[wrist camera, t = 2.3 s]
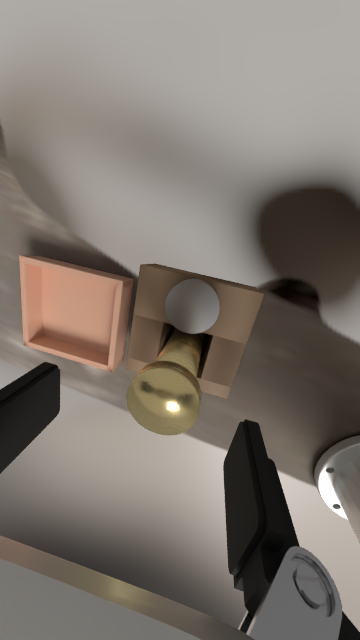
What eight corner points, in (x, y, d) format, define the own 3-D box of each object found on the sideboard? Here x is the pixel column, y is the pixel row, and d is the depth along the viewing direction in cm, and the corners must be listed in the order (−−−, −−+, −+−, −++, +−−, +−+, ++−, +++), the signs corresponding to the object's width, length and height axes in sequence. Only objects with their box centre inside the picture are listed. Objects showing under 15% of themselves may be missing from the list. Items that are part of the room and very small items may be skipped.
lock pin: (213, 322, 21) (208, 384, 10) (203, 357, 22) (189, 444, 12) (174, 312, 21) (131, 362, 11) (166, 347, 22) (122, 421, 12)
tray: (133, 278, 21) (123, 281, 18) (122, 361, 24) (112, 372, 22) (40, 256, 22) (19, 255, 20) (42, 337, 25) (23, 345, 23)
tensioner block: (255, 287, 19) (270, 298, 13) (225, 375, 22) (228, 413, 17) (155, 263, 20) (131, 265, 14) (140, 351, 23) (116, 379, 18)
